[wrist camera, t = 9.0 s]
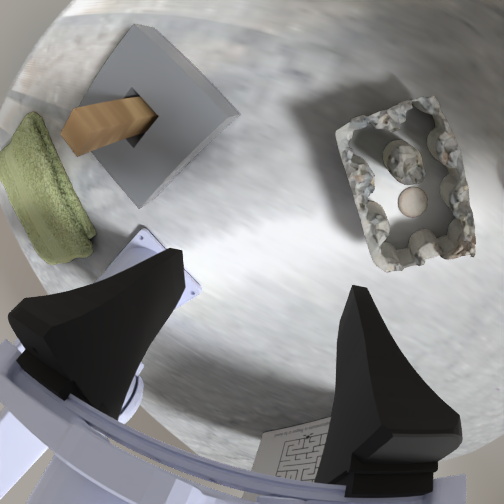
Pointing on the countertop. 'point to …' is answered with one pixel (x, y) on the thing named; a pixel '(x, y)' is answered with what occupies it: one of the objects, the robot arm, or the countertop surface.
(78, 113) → the oak peg
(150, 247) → the robot arm
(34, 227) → the washcloth
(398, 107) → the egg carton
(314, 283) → the countertop surface
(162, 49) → the charcoal socket block
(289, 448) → the cereal box
